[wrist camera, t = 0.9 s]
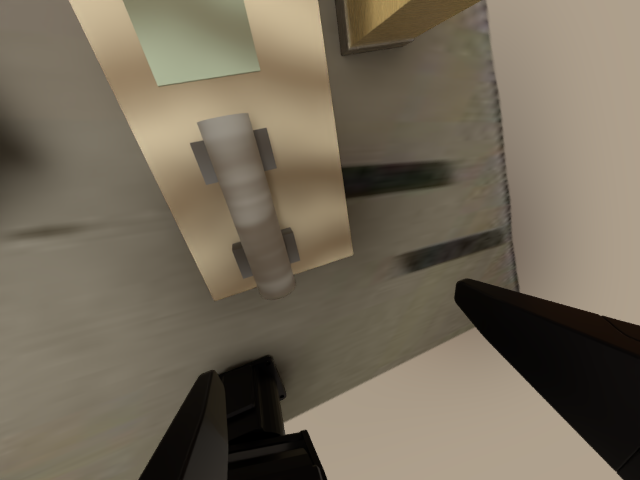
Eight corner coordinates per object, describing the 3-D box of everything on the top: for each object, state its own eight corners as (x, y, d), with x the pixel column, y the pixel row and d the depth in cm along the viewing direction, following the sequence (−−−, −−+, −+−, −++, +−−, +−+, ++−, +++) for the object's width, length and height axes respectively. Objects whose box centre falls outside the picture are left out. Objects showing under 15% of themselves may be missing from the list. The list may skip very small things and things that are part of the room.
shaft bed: (347, 249, 22) (375, 276, 18) (215, 292, 20) (209, 336, 16) (261, -329, 10) (280, -689, 6) (-110, -398, 8) (-572, -1113, 3)
